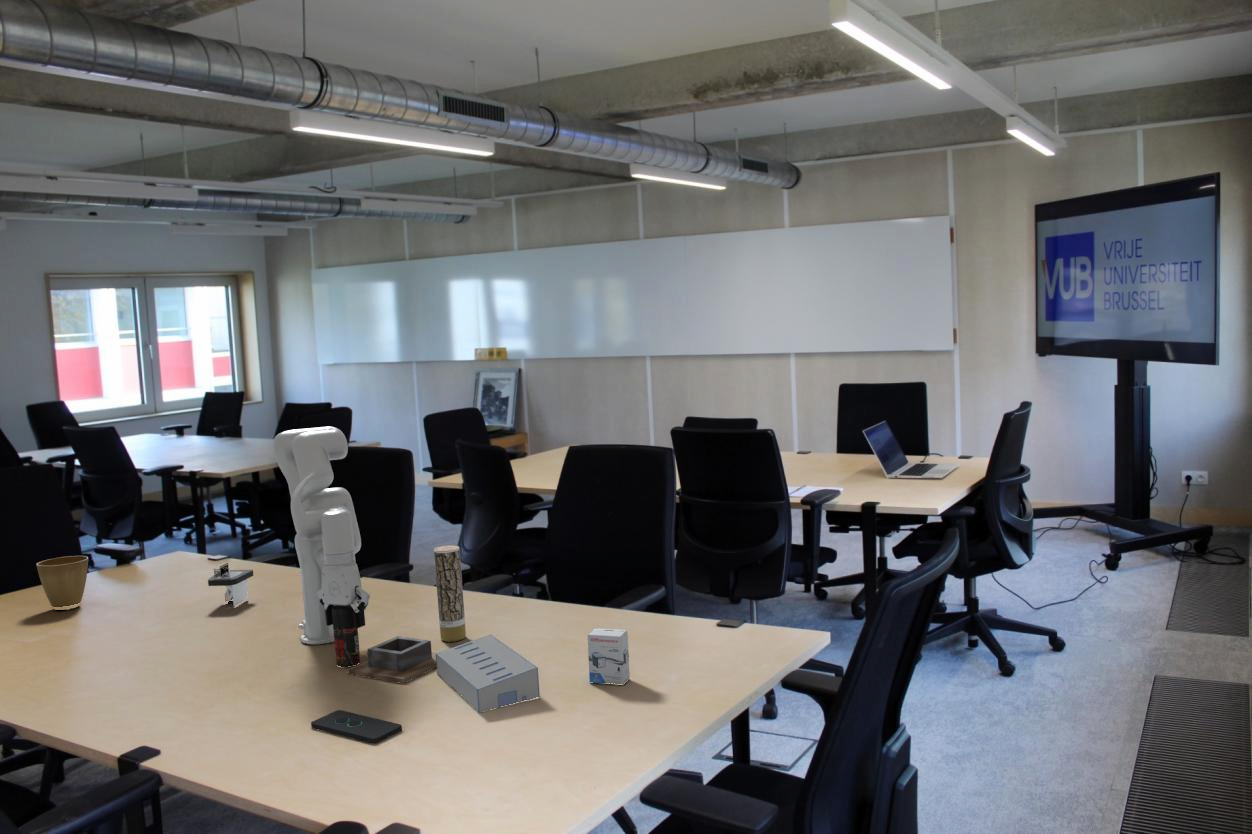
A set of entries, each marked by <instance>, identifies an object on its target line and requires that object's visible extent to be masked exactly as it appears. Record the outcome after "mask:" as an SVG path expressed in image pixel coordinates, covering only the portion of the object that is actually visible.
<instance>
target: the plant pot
mask: <svg viewBox="0 0 1252 834" xmlns="http://www.w3.org/2000/svg"><path fill="white" fill-rule="evenodd" d="M88 564H89V557H88V556H86V555H73V556H72V555H69V556H68V555H67V556H61V557H55V558H49V559H46V560H42V561H39V562H36V568H37V569H36V570H37V573H38V577H39V579H40V580H39V581H40V583H41V586H42V588H43V591H44V594H45V596H46V598H47V599H48V601H49V604H50V605H51V607H52V606H53V607H63V606H70V605H74V604H78V603H80V602H81V603H82V601H83V596H84V592H85V587H86V582H87V576H88V566H89V565H88ZM81 603H80V604H81ZM53 607H52V608H53Z"/></svg>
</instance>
